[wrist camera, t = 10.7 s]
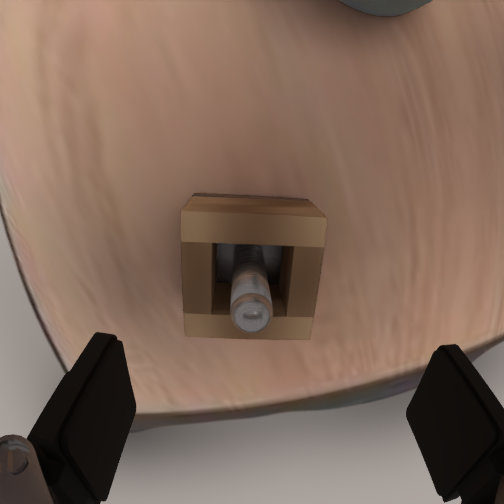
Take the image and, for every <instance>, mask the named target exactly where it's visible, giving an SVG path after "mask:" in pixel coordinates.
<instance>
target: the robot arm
mask: <svg viewBox="0 0 504 504" xmlns="http://www.w3.org/2000/svg"><path fill="white" fill-rule="evenodd" d="M135 413H136V401H135V397H134V393H133V389H132V385H131V381H130V376H129V372H128V367H127V362H126V358H125V353H124V348H123V343H122V341H120V340H117V337H116V335H113V334H107V333H100V332H96V333H95V334H94V335H93V337H92V338H91V340H90V341H89V343H88V344H87V346H86V347H85V349H84V350H83V352H82V353H81V355H80V356H79V358H78V360H77V361H76V363H75V364H74V366H73V367H72V369H71V370H70V371H69V372H67V373H66V374H65V375H64V377H63V379H62V380H61V382H60V383H59V385H58V386H57V388H56V390H55V391H54V393H53V395H52V396H51V398H50V400H49V401H48V403H47V405H46V406H45V408H44V409H43V411H42V413H41V414H40V416H39V418H38V420H37V422H36V423H35V425H34V427H33V428H32V430H31V432H30V434H29V435H28V437H27V439H26V438H24V437H22V436H19V435H5V436H3V437H1V438H0V504H100V502H101V501H106V499H107V497H108V495H109V491H110V488H111V485H112V482H113V479H114V475H115V472H116V469H117V466H118V463H119V460H120V457H121V453H122V451H123V448H124V445H125V442H126V439H127V436H128V433H129V430H130V428H131V425H132V422H133V419H134V416H135ZM406 417H407V420H408V422H409V425H410V427H411V429H412V432H413V434H414V436H415V439H416V441H417V443H418V446H419V448H420V450H421V453H422V455H423V458H424V461H425V463H426V466H427V468H428V471H429V473H430V475H431V478H432V481H433V483H434V486H435V489H436V491H437V493H438V494H439V496H442V498H443V501H444V502H448V501H451V500H453V499H456V498H458V497H459V496H460V497H461V499H462V501H461V504H504V408H503V407H502V405H501V404H500V402H499V401H498V399H497V398H496V397H495V395H494V394H493V392H492V391H491V389H490V388H489V386H488V385H487V384H486V382H485V381H484V380H483V378H482V377H481V375H480V374H479V373H478V371H477V370H476V369H475V367H474V366H473V365H472V363H471V362H470V361H469V359H468V358H467V357H466V355H465V354H464V353H463V351H462V350H461V349H460V347H459V346H458V345H456V344H451V345H441V346H439V347H438V349H437V350H436V351H434V353H433V355H432V357H431V359H430V361H429V364H428V366H427V368H426V370H425V373H424V375H423V377H422V379H421V381H420V383H419V385H418V388H417V390H416V392H415V394H414V396H413V398H412V400H411V402H410V404H409V406H408V407H407V411H406Z"/></svg>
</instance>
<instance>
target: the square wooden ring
mask: <svg viewBox="0 0 504 504" xmlns="http://www.w3.org/2000/svg"><path fill="white" fill-rule="evenodd" d="M327 219H328V218H327V217H326V216H325V215H324V214H323V213H322V212H321V211H320V210H319V209H318V208H317V207H316V206H315V205H314V204H313V203H312V202H309V201H293V200H276V199H257V198H234V197H205V196H193V197H192V198H191V199H190V200H189V202H188V203H187V204H186V205H185V207H184V208H183V209H182V210H181V263H182V292H183V313H184V330H185V336H192V337H210V338H232V339H270V340H310V336H311V330H312V325H313V319H314V313H315V306H316V300H317V294H318V287H319V280H320V273H321V266H322V259H323V251H324V244H325V236H326V227H327ZM217 243H231V244H256V245H280V246H282V256H281V267H280V278H279V285H271V284H269V290H270V295H271V301H272V307H273V317H272V320H271V322H270V324H269V325H268V326H267V327H266V328H265V329H264V330H262V331H260V332H257V333H246V332H243V331H241V330H239V329H238V328H237V327H236V326H235V325H234V323H233V322H232V319H231V316H230V306H231V289H232V283H217Z"/></svg>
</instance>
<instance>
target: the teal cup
mask: <svg viewBox="0 0 504 504" xmlns="http://www.w3.org/2000/svg"><path fill="white" fill-rule="evenodd" d="M339 1H341V2H342V3H344V4H346V5H348V6H350V7H352V8H354V9H356V10H358V11H361V12H364V13H368V14H372V15H377V16H398V15H402V14H405V13H408V12H410V11H412V10H414V9H417V8H419V7H421V6H423V5H425V4H427V3H429V2H431V1H432V0H339Z"/></svg>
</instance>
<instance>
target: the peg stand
mask: <svg viewBox="0 0 504 504" xmlns="http://www.w3.org/2000/svg"><path fill="white" fill-rule="evenodd" d="M193 196H205V197H234V198H257V199H276V200H293V201H309V200H308V199H297V198H283V197H267V196H250V195H231V194H207V193H194V194H193V195H192V197H193ZM309 202H310V201H309ZM281 256H282V246H280V245H256V244H231V243H217V283H232V289H231V306H230V316H231V319H232V322H233V323H234V325H235V326H236V327H237V328H238V329H239V330H241V331H243V332H246V333H257V332H260V331H262V330H264V329H265V328H266V327H267V326H268V325H269V324H270V322H271V320H272V317H273V307H272V301H271V295H270V290H269V284H271V285H279V278H280V267H281Z"/></svg>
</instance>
